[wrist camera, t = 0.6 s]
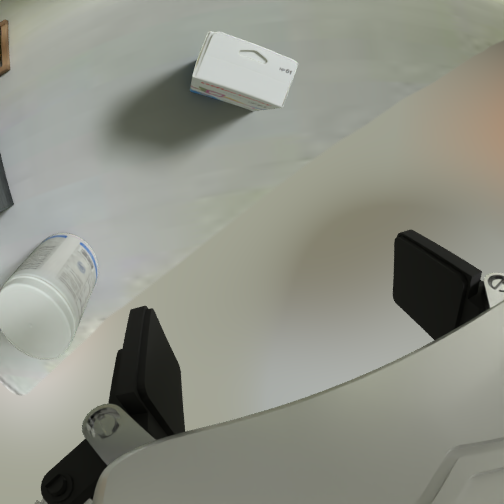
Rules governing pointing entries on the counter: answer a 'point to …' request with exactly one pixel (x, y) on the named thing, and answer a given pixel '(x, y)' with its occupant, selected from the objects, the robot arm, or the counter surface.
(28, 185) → the counter surface
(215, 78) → the ink box
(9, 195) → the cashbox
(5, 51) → the cradle
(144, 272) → the counter surface
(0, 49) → the coin
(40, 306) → the supplement tub
